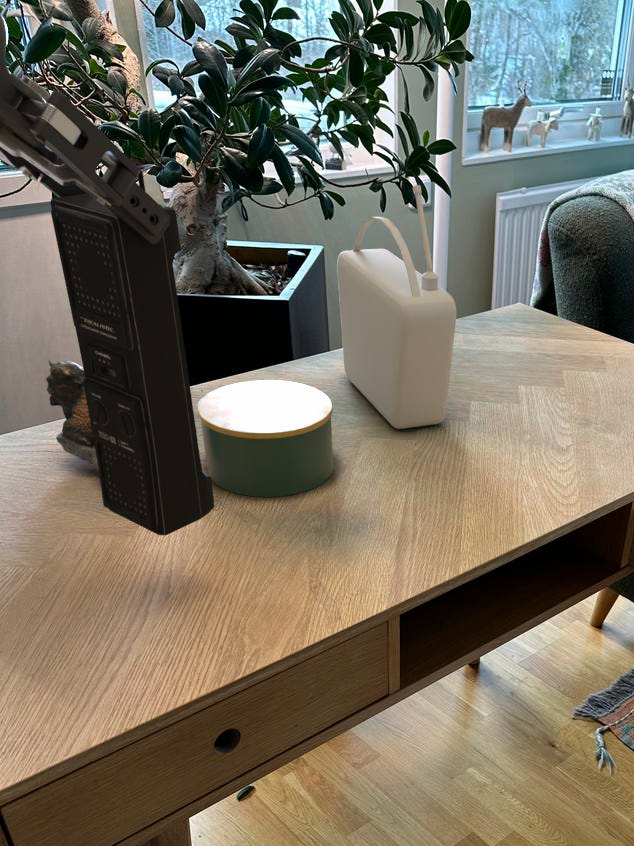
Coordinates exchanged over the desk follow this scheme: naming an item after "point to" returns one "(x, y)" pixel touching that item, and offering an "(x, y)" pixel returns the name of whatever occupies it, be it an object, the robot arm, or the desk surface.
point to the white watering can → (396, 329)
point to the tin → (267, 437)
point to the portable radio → (133, 364)
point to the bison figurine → (72, 409)
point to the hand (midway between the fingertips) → (126, 218)
